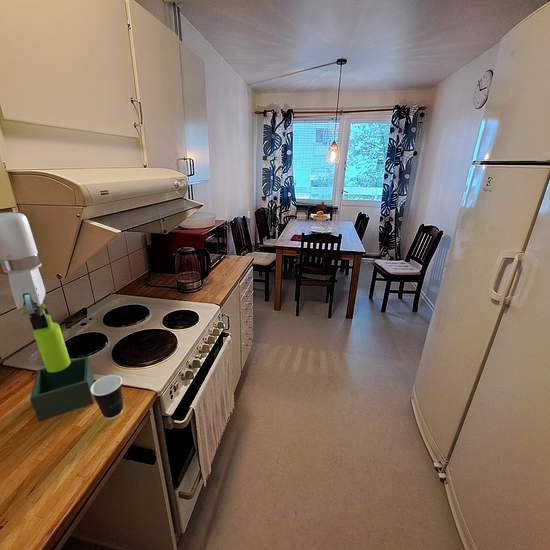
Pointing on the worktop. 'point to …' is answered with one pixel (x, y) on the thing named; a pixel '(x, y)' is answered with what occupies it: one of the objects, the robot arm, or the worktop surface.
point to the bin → (62, 389)
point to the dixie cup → (108, 395)
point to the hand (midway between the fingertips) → (42, 324)
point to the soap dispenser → (51, 345)
